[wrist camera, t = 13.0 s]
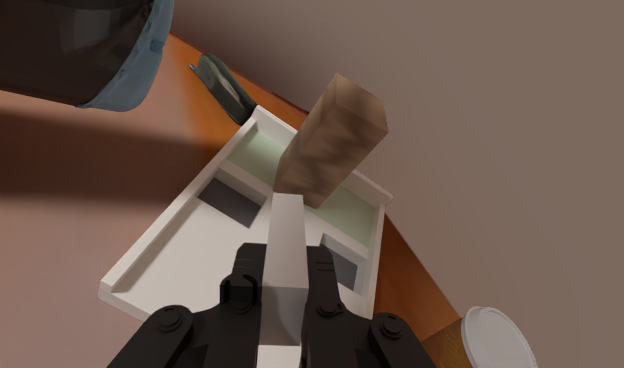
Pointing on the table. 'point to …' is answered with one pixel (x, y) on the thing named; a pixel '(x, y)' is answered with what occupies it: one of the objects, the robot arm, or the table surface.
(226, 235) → the board
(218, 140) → the table surface
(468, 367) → the disposable coffee cup
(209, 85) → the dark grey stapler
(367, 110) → the walnut block
